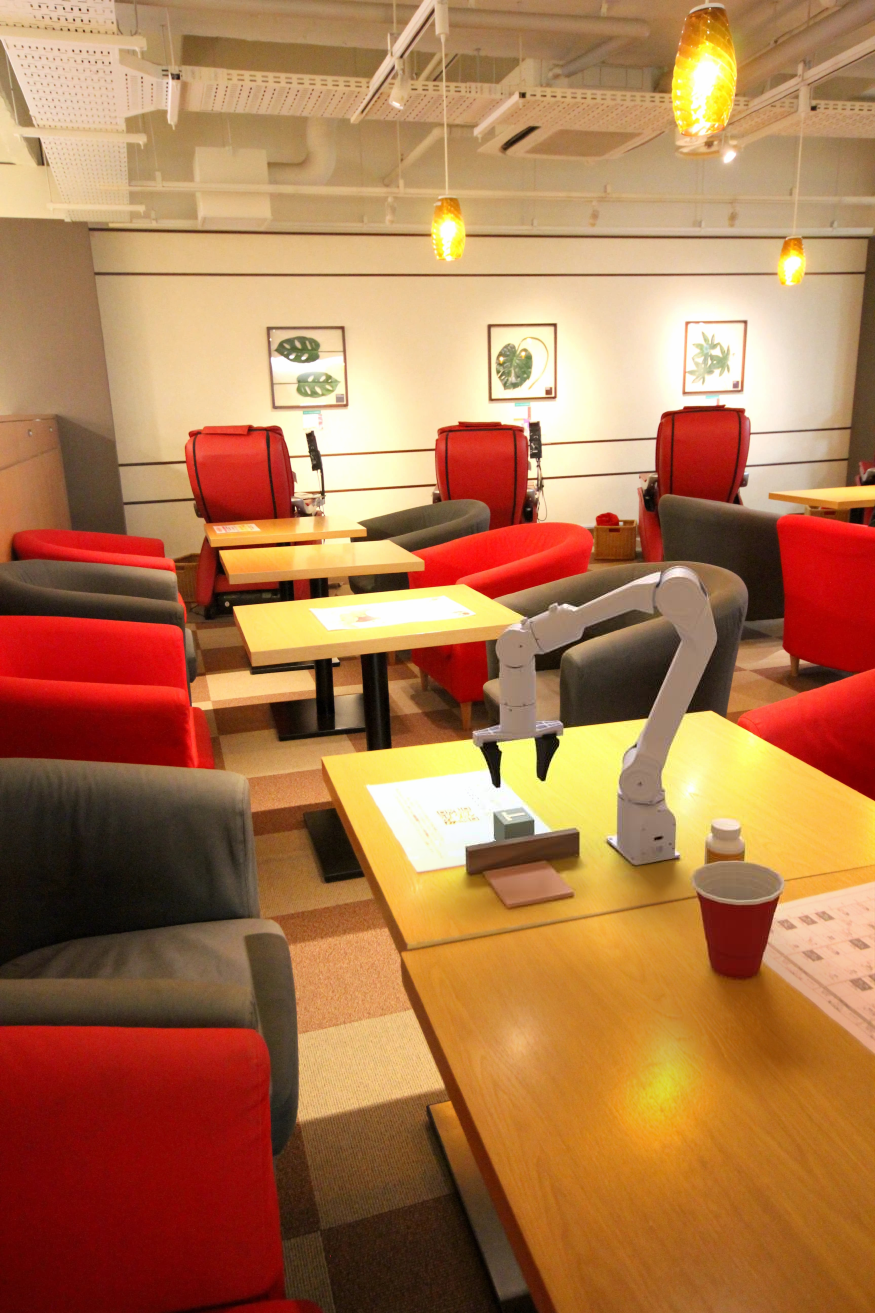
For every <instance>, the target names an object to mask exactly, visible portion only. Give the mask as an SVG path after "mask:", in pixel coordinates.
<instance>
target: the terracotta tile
mask: <svg viewBox="0 0 875 1313" xmlns="http://www.w3.org/2000/svg"><path fill="white" fill-rule="evenodd" d="M483 877H484V878H485V879H486V880H487V882H488V883H489V885H490V886H491V887H492V889H493V890H494V892H495V893H496V894H497V896H498V897H499V899H501V901H502V902H503V904H504V906H505V907H506V908H507V909H510V908H516V907H521V906H525V905H526V906H527V905H531V904H532V905H533V904H536V903H541V902H547V901H552V900H557V899H562V898H568V897H573V896H575V895H574V894H575V893H574V892H575V891H574V890H573V889H572V888H571V886H569V884H567V883H566V881H565V880H564V879H563V878H562V877H561V876H560V875H559V873H557V871H556V870H555V869H554V868H553V867H552V866H551V865H550V864H549V863H548V861H546V860H545V861H540V862H534V863H529V864H523V865H518V866H512V867H506V868H501V869H495V870H490V871H484V873H483Z"/></svg>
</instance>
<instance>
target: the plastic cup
mask: <svg viewBox="0 0 875 1313" xmlns="http://www.w3.org/2000/svg"><path fill="white" fill-rule="evenodd" d="M689 880H690V882H691V885H692V888H693V890H694V891H695V892H696V894H697V899H698V901H699V907H700V913H701V918H702V926H703V931H704V937H705V941H706V948H707V955H708V960H709V963H710V966H711V969H712V970H714V972H716V974H719V975H721V976H722V977H725V978H727V979H731V980H748V979H753V978H754V977H755V976H757V975H758V973H759V971H760V968H761V966H762V961H763V957H764V953H765V952H766V950H767V949H766V948H767V946H768V941H769V938H770V933H771V930H772V925H773V922H774V921H773V920H774V916H775V913H776V910H777V906H778V903H779V900H780V897H781V895H782V894H783V892H784V889H785V886H786V883H787V882H786V880H785V879H784V877H783V876H782V874H781V873H780V872H778V871H776V870H774V868H771V867H769V866H766V865H763V864H759V863H756V862H749V861H745V860H744V861H719V862H715V863H710V864H706V865H704V864H703V865H702V866H700V867H698V868H696V869H695V870H693V871H692V874H691V875H690V878H689Z"/></svg>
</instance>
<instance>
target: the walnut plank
mask: <svg viewBox="0 0 875 1313" xmlns="http://www.w3.org/2000/svg"><path fill="white" fill-rule="evenodd" d="M580 837H581V835H580V831H579V829H577V827H571V828H567V829H560V830H554V831H548V832H541V833H537V834H535V835H530V836H524V837H518V838H512V839H506V840H500V841H489V842H484V843H479V844H472V845H466V846H465V870H466V873H467V874H468V875H469V876H472V875H478V874H484V871H490V870H495V869H501V868H506V867H512V866H518V865H523V864H529V863H534V862H540V861H545V860H546V861H547V862H549V861H556V860H561V859H567V858H573V857H578V856H579V857H580V855H581V854H580V853H581V852H580V849H581V848H580V847H581V846H580V841H581V840H580V839H581V838H580Z"/></svg>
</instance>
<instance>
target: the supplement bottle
mask: <svg viewBox="0 0 875 1313" xmlns="http://www.w3.org/2000/svg"><path fill="white" fill-rule="evenodd" d="M741 832H742V825H741V823H740V822H738V821H737V820H735V819H731V818H726V817H725V818H724V817H723V818H716V819H715V818H714V820H712V821H711V825H710V833H709V834H708V835H707V836H706V838H705V841H704V842H705V844H704V845H705V846H704V864H703V865H706V864H710V863H715V862H719V861H744V862H745V856H746V855H745V854H746V842H745V840H744V838H743V837H742V836H741Z"/></svg>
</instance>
